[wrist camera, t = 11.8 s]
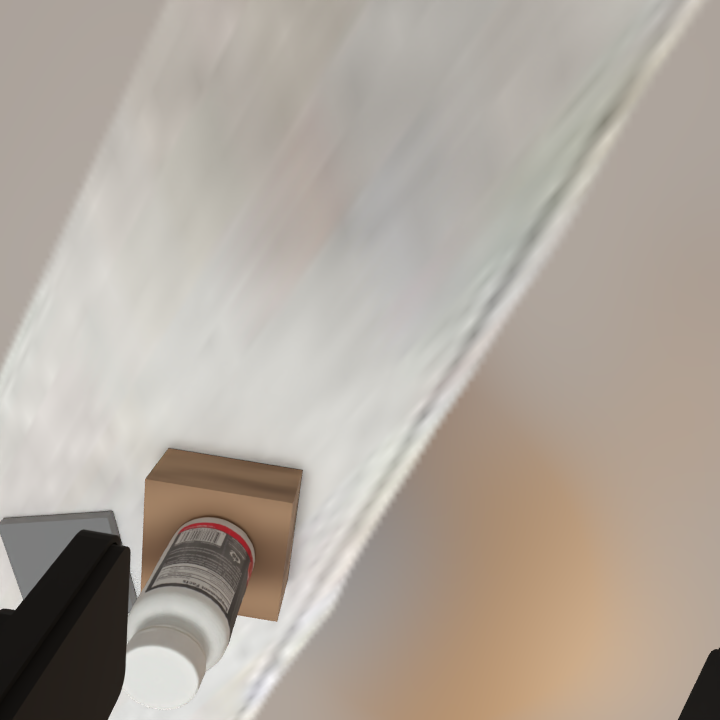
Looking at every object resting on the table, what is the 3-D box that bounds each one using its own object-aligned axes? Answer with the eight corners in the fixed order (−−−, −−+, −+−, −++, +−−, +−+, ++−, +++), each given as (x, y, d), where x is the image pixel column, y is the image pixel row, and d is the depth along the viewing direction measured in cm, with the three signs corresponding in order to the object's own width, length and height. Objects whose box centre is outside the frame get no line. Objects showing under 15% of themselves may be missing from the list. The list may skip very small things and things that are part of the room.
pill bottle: (227, 600, 39) (176, 739, 30) (156, 556, 39) (80, 685, 29) (273, 545, 38) (233, 672, 29) (200, 498, 37) (134, 614, 28)
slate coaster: (4, 518, 43) (-4, 524, 42) (112, 511, 42) (107, 517, 42) (35, 610, 46) (29, 618, 45) (138, 604, 45) (134, 612, 44)
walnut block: (168, 448, 41) (145, 478, 37) (302, 470, 41) (292, 503, 37) (162, 560, 44) (140, 599, 40) (287, 580, 44) (277, 621, 40)
